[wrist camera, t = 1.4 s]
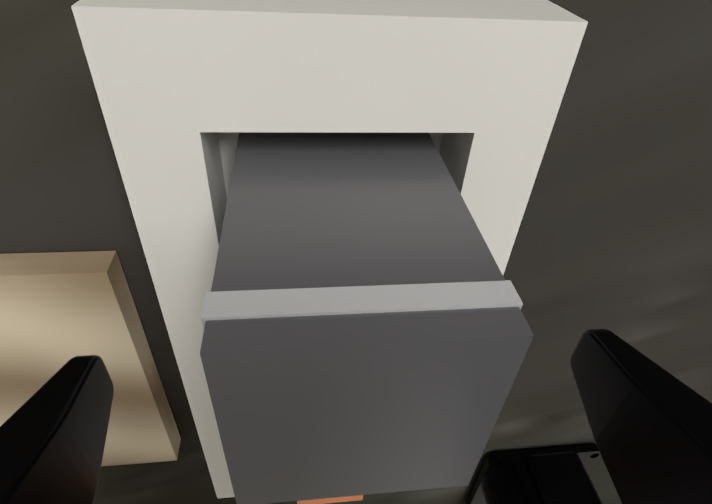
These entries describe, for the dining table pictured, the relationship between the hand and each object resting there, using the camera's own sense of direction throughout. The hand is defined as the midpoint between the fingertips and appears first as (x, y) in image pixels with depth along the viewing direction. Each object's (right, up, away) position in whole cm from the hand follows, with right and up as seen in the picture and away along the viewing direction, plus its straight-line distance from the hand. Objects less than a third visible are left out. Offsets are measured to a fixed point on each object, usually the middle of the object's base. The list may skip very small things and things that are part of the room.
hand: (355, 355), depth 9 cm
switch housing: (-1, +1, +7) cm, 7 cm away
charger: (-1, +3, +4) cm, 5 cm away
